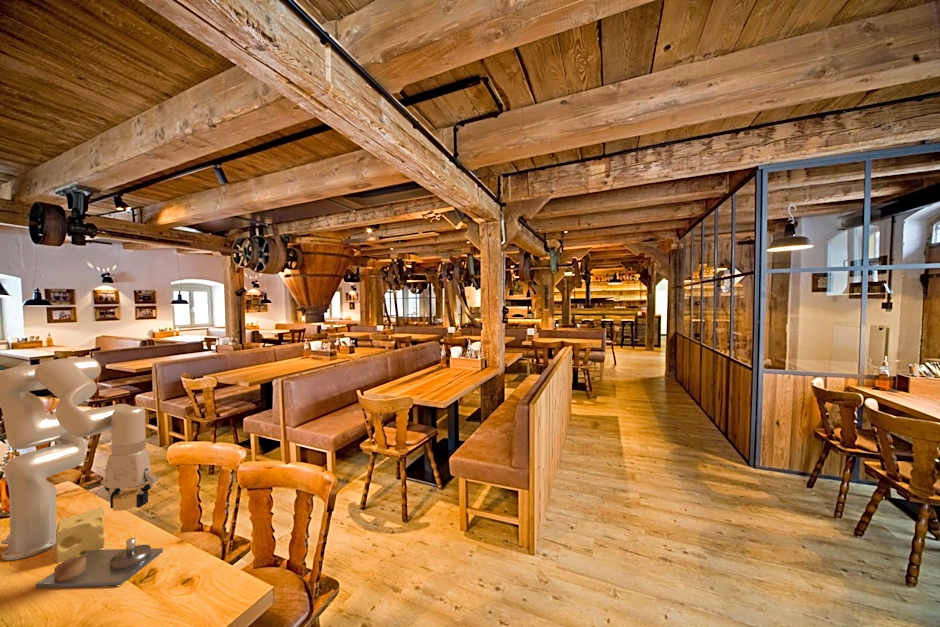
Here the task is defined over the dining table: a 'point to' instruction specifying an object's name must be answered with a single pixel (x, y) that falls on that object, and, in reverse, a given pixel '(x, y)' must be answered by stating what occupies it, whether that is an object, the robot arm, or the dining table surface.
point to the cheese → (80, 534)
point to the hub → (130, 555)
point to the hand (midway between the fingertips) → (129, 505)
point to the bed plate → (99, 571)
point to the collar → (125, 499)
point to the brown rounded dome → (70, 568)
